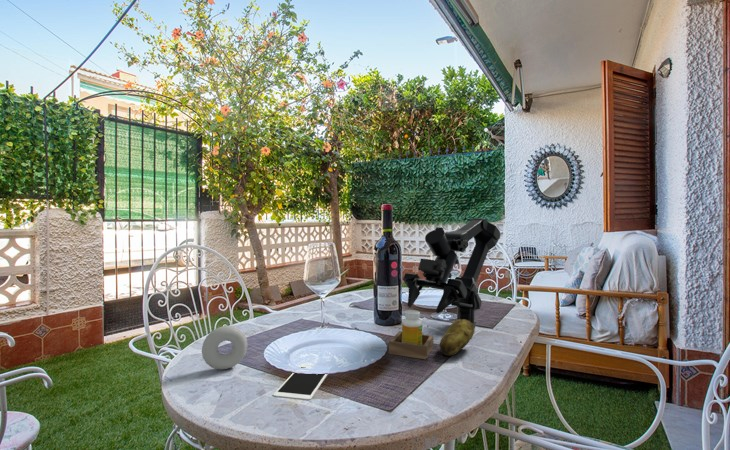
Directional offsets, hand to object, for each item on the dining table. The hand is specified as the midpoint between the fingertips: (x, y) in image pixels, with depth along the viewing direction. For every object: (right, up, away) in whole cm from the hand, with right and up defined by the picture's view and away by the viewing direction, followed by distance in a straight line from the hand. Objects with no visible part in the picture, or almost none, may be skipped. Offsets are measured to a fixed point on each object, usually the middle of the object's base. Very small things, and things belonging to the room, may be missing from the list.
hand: (422, 309), depth 103 cm
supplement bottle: (-3, -10, -3) cm, 11 cm away
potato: (+8, -10, -4) cm, 14 cm away
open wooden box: (-3, -10, -4) cm, 11 cm away
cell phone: (-29, -11, -23) cm, 38 cm away
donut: (-48, -10, -17) cm, 52 cm away
